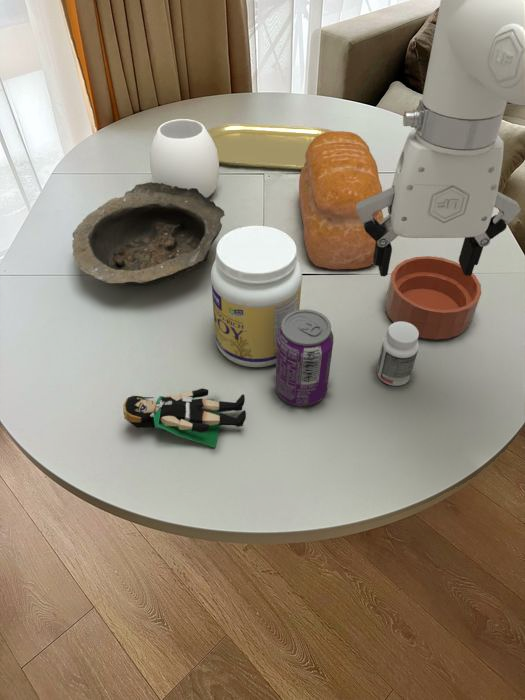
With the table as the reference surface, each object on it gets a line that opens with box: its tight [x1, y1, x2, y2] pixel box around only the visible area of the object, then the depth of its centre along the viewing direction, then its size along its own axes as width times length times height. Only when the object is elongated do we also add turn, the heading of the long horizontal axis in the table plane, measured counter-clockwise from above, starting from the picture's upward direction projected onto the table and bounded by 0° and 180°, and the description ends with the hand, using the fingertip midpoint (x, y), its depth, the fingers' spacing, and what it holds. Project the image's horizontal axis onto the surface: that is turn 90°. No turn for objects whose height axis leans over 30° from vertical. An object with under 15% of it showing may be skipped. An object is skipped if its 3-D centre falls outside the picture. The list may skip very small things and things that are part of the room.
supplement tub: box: [210, 225, 303, 368], centre depth 78 cm, size 12×12×17 cm
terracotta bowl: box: [384, 255, 482, 341], centre depth 86 cm, size 13×13×6 cm
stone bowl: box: [71, 181, 226, 287], centre depth 94 cm, size 25×25×9 cm
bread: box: [298, 130, 385, 270], centre depth 99 cm, size 14×26×15 cm, turn 1°
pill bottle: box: [376, 321, 420, 387], centre depth 76 cm, size 5×5×8 cm
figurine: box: [122, 388, 247, 449], centre depth 72 cm, size 8×6×15 cm
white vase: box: [149, 118, 220, 198], centre depth 108 cm, size 13×13×14 cm
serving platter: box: [206, 123, 334, 171], centre depth 125 cm, size 19×35×2 cm, turn 84°
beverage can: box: [274, 308, 335, 407], centre depth 73 cm, size 7×7×12 cm
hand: (423, 268), depth 66 cm, fingers open, 9 cm apart
